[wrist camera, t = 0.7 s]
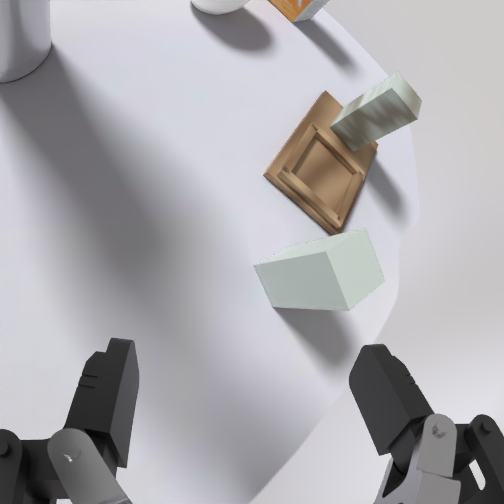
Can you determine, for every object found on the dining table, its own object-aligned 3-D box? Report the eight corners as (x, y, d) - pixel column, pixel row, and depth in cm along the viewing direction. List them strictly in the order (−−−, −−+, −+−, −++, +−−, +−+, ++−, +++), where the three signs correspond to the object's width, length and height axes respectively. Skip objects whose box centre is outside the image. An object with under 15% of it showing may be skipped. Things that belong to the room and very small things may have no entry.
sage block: (253, 265, 33) (325, 251, 22) (288, 246, 35) (365, 227, 24) (272, 306, 33) (349, 310, 22) (305, 286, 35) (384, 280, 25)
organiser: (263, 174, 35) (336, 125, 23) (321, 93, 41) (380, 49, 30) (333, 237, 38) (417, 217, 27) (373, 146, 45) (437, 116, 33)
